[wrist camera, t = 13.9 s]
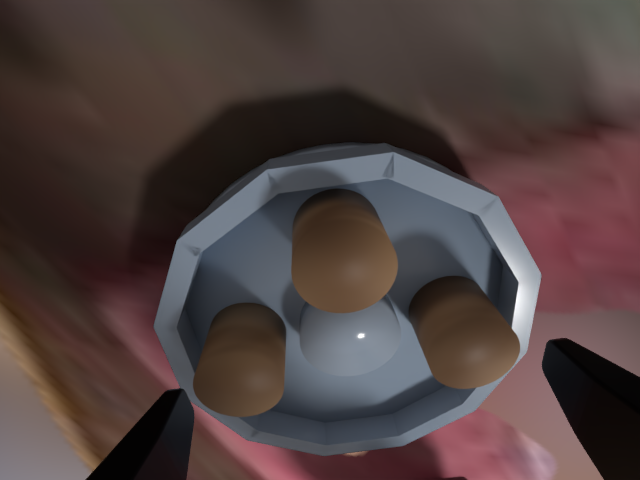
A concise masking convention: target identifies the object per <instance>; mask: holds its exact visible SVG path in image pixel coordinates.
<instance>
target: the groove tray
mask: <svg viewBox="0 0 640 480" xmlns="http://www.w3.org/2000/svg"><path fill="white" fill-rule="evenodd" d="M336 188H339V189H348V190H352V191H355V192H357V193H359V194H361V195H362V196H364V197H365V198H366V199H368V200H369V201H370V203H371V204H372V205H373V206H374V208H375V210H376V212H377V214H378V216H379V218H380V220H381V222H382V224H383V226H384V229H385V231H386V233H387V235H388V237H389V239H390V241H391V243H392V245H393V247H394V250H395V252H396V255H397V261H398V270H397V275H396V278H395V281H394V283H393V285H392V287H391V288H390V290H389V291H388V292H387V293H386V295H385V296H384V297H383V298H381V299H380V300H379V301H378V302H376V303H375V304H373V305H371V306H370V307H368V308H365V309H363V310H360V311H356V312H351V313H331V312H327V311H323V310H320V309H318V308H316V307H314V306H312V305H310V304H309V303H307V302H306V301H305V300H304V299H303V298H302V297H301V296H300V295H299V293H298V292H297V290H296V288H295V286H294V284H293V281H292V275H291V262H292V230H293V221H294V218H295V215H296V213H297V211H298V209H299V208H300V207H301V205H302V204H303V203H304V202H305V201H306V200H307V199H308V198H310V197H311V196H313V195H314V194H317V193H319V192H321V191H324V190H328V189H336ZM445 276H463V277H466V278H469V279H471V280H473V281H474V282H476V283H477V284H478V285H479V286H480V288H481V289H482V290H483V292H484V293H485V294H486V295H487V297H488V298H489V299H490V301H491V302H492V303H493V305H494V306H495V307H496V309H497V310H498V311H499V312H500V314H501V315H502V316H503V318H504V319H505V320H506V322H507V323H508V324H509V325H510V327H511V328H512V329H513V331H514V332H515V333H516V335H517V336H518V338H519V341H520V353H519V356H518V359H517V361H516V362H515V364H514V365H513V367H514V366H515V365H516V363H517V362H518V361H519V360H520V359H521V358H522V357H523V356H524V355H525V353H526V352H527V349H528V343H529V338H530V332H531V327H532V322H533V316H534V312H535V307H536V301H537V296H538V291H539V286H540V280H541V273H540V271H539V269H538V267H537V266H536V264H535V262H534V260H533V258H532V256H531V255H530V253H529V251H528V249H527V247H526V246H525V244H524V242H523V240H522V238H521V237H520V235H519V233H518V231H517V229H516V228H515V226H514V224H513V222H512V220H511V219H510V217H509V215H508V213H507V211H506V210H505V208H504V206H503V204H502V202H501V201H500V199H499V197H498V196H497V195H495V194H494V193H493V192H491V191H490V190H489V189H487V188H486V187H485V186H483V185H482V184H480V183H477V182H475V181H473V180H470V179H468V178H466V177H463V176H461V175H459V174H456V173H454V172H452V171H451V170H450V169H448V168H447V167H445V166H443V165H441V164H439V163H437V162H435V161H433V160H432V159H430V158H428V157H425V156H423V155H420V154H417V153H414V152H411V151H408V150H405V149H402V148H397V147H394V146H392V145H389V144H387V143H381V144H374V143H357V142H348V143H334V144H324V145H319V146H314V147H309V148H304V149H299V150H297V151H294V152H291V153H288V154H285V155H282V156H279V157H276V158H273V159H269V160H267V161H266V162H265V163H264V164H262V165H260V166H258V167H256V168H254V169H252V170H251V171H249V172H248V173H246V174H245V175H243V176H242V177H240V178H239V179H238V180H236V181H235V182H233V183H232V184H231V185H229V186H228V187H227V188H226V189H225V190H224V191H223V192H222V193H221V194H220V195H219V196H218V197H217V198H215V199H214V200H213V202H212V203H211V204H210V205H209V207H208V208H207V209H206V210H205V211H204V212H202V213H201V214H200V215H199V216H197V217H196V218H195V219H194V220H192V221H191V222H190V223H189V224H187V226H186V227H185V229H184V230H183V232H182V233H181V235H180V237H179V238H178V240H177V242H176V246H175V249H174V253H173V257H172V260H171V264H170V268H169V271H168V275H167V279H166V282H165V286H164V289H163V293H162V297H161V300H160V304H159V308H158V311H157V315H156V319H155V322H154V329H155V332H156V334H157V336H158V338H159V341H160V343H161V345H162V347H163V350H164V352H165V354H166V356H167V359H168V361H169V363H170V365H171V368H172V370H173V372H174V375H175V377H176V379H177V381H178V384H179V386H180V388H183V389H184V390H185V391H186V393H187V396H188V398H189V400H190V401H191V402H192V403H194V404H195V405H197V406H198V407H200V408H201V409H203V410H204V411H205V412H207V413H208V414H210V415H211V416H213V417H214V418H216V419H217V420H218V421H220V422H221V423H223V424H224V425H226V426H227V427H229V428H230V429H231V430H233V431H234V432H236V433H237V434H239V435H240V436H242V437H243V438H245V439H246V440H248V441H253V442H258V443H262V444H267V445H272V446H277V447H282V448H287V449H292V450H296V451H301V452H306V453H311V454H316V455H321V456H329V455H337V454H345V453H352V452H360V451H368V450H376V449H384V448H391V447H399V446H404V445H406V444H408V443H410V442H412V441H414V440H416V439H418V438H420V437H422V436H424V435H426V434H428V433H431V432H433V431H435V430H437V429H439V428H441V427H443V426H445V425H447V424H449V423H451V422H453V421H455V420H457V419H459V418H461V417H463V416H465V415H467V414H469V413H471V412H473V411H475V410H476V409H477V408H478V407H479V405H480V404H481V403H482V402H483V401H484V400H485V399H486V397H487V396H488V395H489V394H490V393H491V392H492V391H493V390H494V388H495V387H496V386H497V385H498V384H499V383H500V382H501V381H502V379H503V378H504V377H505V376H506V375H507V374H508V373H509V372H510V370H511V369H512V368H513V367H512V368H511V369H510V370H509V371H508V372H507V373H506V374H505V375H503V376H502V377H500V378H499V379H497V380H496V381H494V382H492V383H489V384H487V385H484V386H481V387H477V388H471V389H457V388H452V387H448V386H446V385H444V384H442V383H440V382H439V381H437V380H436V379H435V377H434V376H433V375H432V373H431V370H430V368H429V365H428V363H427V361H426V358H425V356H424V353H423V351H422V348H421V346H420V344H419V341H418V339H417V336H416V334H415V331H414V329H413V327H412V324H411V322H410V319H409V313H408V312H409V305H410V302H411V300H412V298H413V297H414V295H415V294H416V293H417V291H418V290H419V289H420V288H422V287H423V286H424V285H426V284H427V283H429V282H431V281H433V280H435V279H437V278H441V277H445ZM245 302H246V303H257V304H261V305H264V306H266V307H268V308H270V309H272V310H273V311H275V312H276V313H277V314H278V315H279V316H280V317H281V318H282V320H283V322H284V324H285V326H286V355H285V378H284V392H283V395H282V397H281V399H280V400H279V402H278V403H277V404H276V405H275V406H274V407H272V408H271V409H269V410H268V411H266V412H263V413H261V414H258V415H254V416H248V417H233V416H227V415H223V414H220V413H217V412H215V411H213V410H211V409H209V408H207V407H206V406H205V405H203V404H202V403H201V402H200V401H199V399H198V398H197V397H196V395H195V393H194V390H193V379H194V375H195V372H196V369H197V366H198V363H199V359H200V356H201V353H202V350H203V347H204V344H205V341H206V338H207V334H208V331H209V328H210V325H211V322H212V320H213V318H214V317H215V315H216V314H217V313H218V312H219V311H221V310H222V309H224V308H225V307H227V306H230V305H233V304H237V303H245Z"/></svg>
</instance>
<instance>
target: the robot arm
mask: <svg viewBox="0 0 640 480" xmlns="http://www.w3.org/2000/svg"><path fill="white" fill-rule="evenodd" d="M542 369H543V372H544V374H545V377H546V378H547V380H548V382H549V384H550V386H551V388H552V390H553V392H554V394H555V396H556V398H557V400H558V402H559V404H560V406H561V408H562V410H563V412H564V414H565V415H566V418H567V420H568V422H569V423H570V425H571V427H572V429H573V431H574V433H575V434H576V436H577V438H578V439H579V441H580V443H581V444H582V446H583V447H584V449H585V450H586V452H587V454H588V455H589V457H590V458H591V460H592V462H593V463H594V465H595V466H596V468H597V469H598V471H599V472H600V474H601V476H602V477H603V479H604V480H640V377H638V376H636V375H635V374H633V373H631V372H629V371H627V370H625V369H624V368H622V367H620V366H618V365H616V364H614V363H612V362H611V361H609V360H607V359H605V358H603V357H601V356H599V355H598V354H596V353H594V352H592V351H590V350H588V349H586V348H585V347H582V346H581V345H579V344H577V343H575V342H573V341H572V340H569V339H567V338H560V339H552V340H549V341H548V342H547V344H546V348H545V352H544V356H543V361H542ZM193 425H194V410H193V407H192V405H191V402H190V400H189V398H188V396H187V393H186V391H185V390H184V389H183V388H179V389H171V390H167V391H166V392H164V393H163V394H162V395H161V397H160V398H159V399H158V400H157V401H156V402H155V403H154V404H153V405H152V407H151V408H150V409H149V410H148V411H147V412H146V413H145V414H144V415H143V417H142V418H141V419H140V420H139V421H138V422H137V423H136V424H135V425H134V427H133V428H132V429H131V430H130V431H129V432H128V433H127V434H126V435H125V437H124V438H123V439H122V440H121V441H120V442H119V443H118V444H117V445H116V447H115V448H114V449H113V450H112V451H111V452H110V453H109V454H108V455H107V457H106V458H105V459H104V460H103V461H102V462H101V463H100V464H99V465H98V467H97V468H96V469H95V470H94V471H93V472H92V473H91V474H90V475H89V477H88V478H87V479H86V480H186V478H187V471H188V463H189V456H190V448H191V440H192V433H193Z"/></svg>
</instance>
